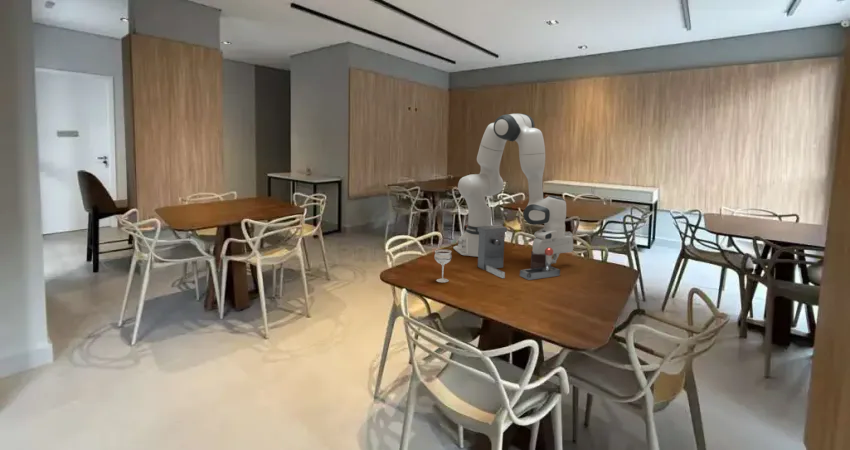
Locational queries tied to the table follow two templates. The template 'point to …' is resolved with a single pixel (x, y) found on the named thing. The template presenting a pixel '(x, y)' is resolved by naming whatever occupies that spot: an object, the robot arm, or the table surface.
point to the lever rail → (539, 273)
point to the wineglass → (442, 260)
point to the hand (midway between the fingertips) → (552, 263)
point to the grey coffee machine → (491, 249)
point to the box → (537, 260)
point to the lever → (548, 259)
